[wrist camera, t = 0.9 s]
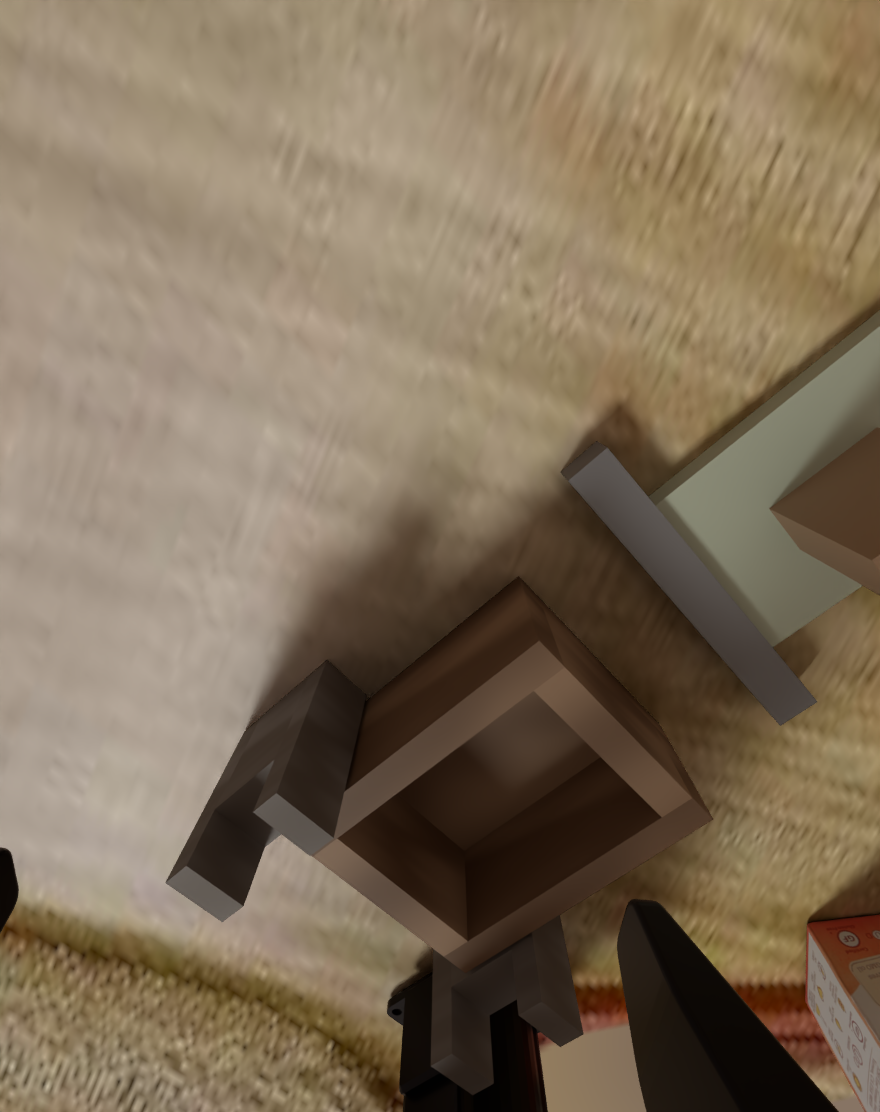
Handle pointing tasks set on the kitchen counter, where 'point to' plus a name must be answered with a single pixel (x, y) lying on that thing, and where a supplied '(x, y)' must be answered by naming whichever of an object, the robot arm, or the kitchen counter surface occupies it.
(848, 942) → the cracker box
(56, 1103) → the kitchen counter surface
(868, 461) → the door
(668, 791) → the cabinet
